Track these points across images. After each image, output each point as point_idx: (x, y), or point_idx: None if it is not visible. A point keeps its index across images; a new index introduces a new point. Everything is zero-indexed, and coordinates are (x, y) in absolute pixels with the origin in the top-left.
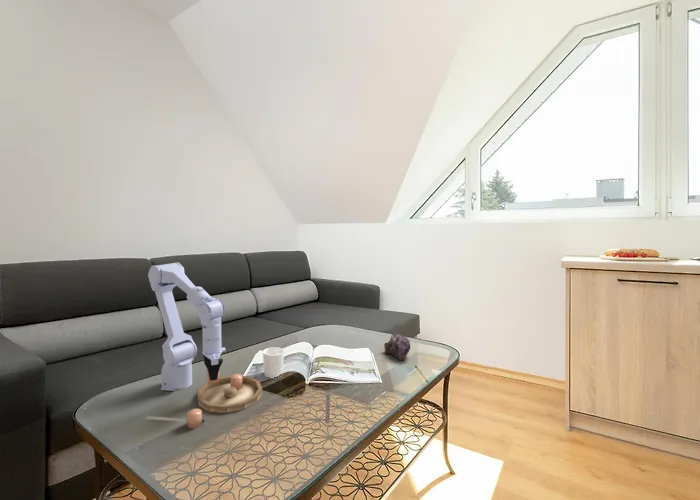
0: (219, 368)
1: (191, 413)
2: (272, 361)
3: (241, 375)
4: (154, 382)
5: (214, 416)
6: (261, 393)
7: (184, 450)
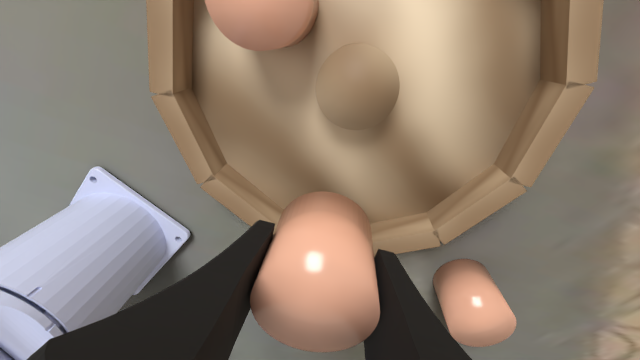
0: (462, 350)
1: (481, 335)
2: None
3: None
4: None
5: None
6: None
7: (574, 339)
